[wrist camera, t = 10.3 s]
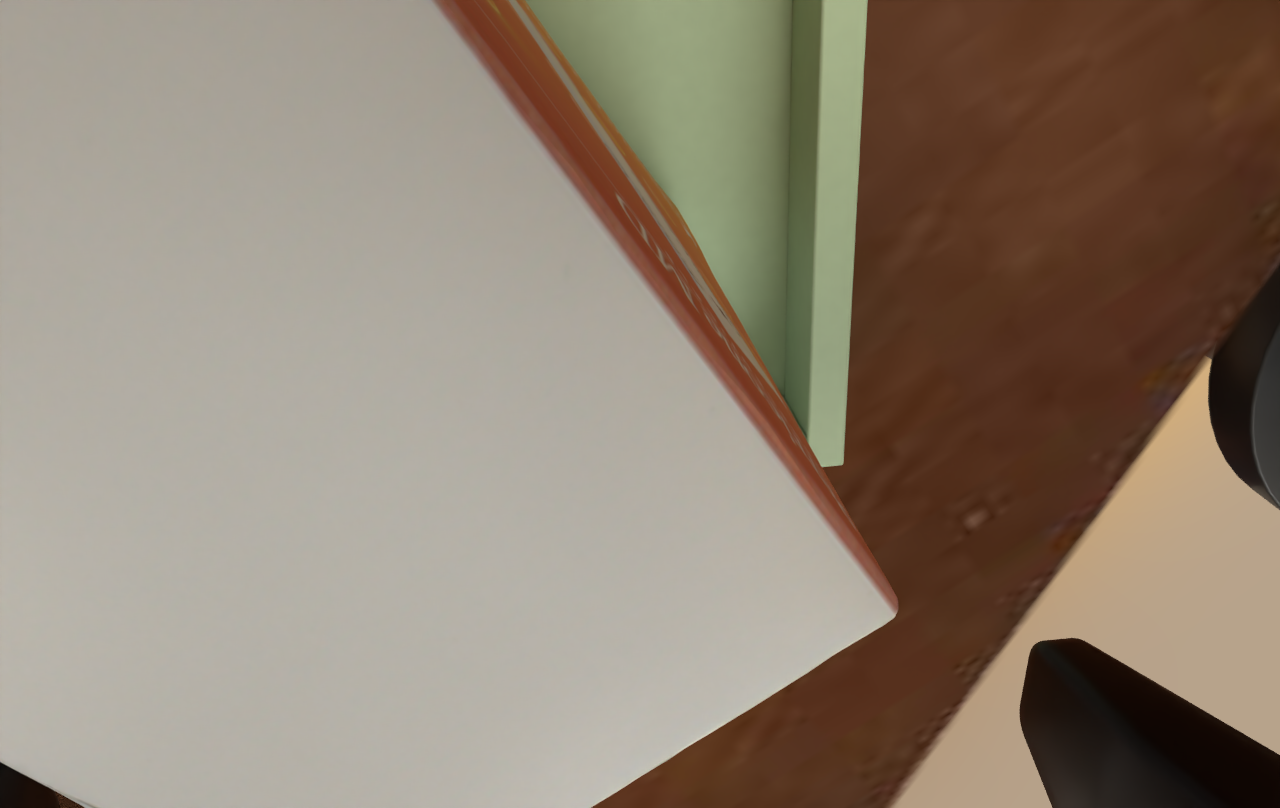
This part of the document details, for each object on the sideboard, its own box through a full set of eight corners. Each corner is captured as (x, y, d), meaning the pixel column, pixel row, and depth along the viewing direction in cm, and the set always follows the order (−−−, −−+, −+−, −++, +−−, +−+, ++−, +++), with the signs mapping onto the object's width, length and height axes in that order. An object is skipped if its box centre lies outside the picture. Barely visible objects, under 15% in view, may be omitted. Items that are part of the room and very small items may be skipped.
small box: (685, 210, 19) (930, 632, 8) (441, 389, 20) (323, 995, 9) (413, -175, 16) (94, -488, 4) (138, 64, 17) (-711, 337, 5)
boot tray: (835, -308, 16) (887, -349, 14) (811, 410, 22) (844, 466, 20) (-136, -272, 15) (-257, -311, 13) (115, 474, 21) (64, 541, 19)
